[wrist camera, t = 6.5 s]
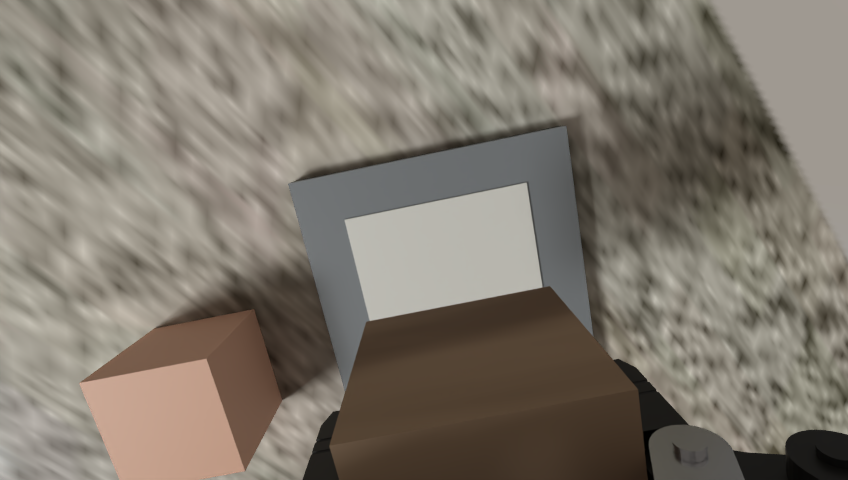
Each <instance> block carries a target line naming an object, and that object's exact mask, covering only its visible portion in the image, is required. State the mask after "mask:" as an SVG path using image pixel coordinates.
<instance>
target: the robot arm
mask: <svg viewBox="0 0 848 480" xmlns="http://www.w3.org/2000/svg"><path fill="white" fill-rule="evenodd" d="M614 362H615V363H616V364H617V365H618V366H619V368H620V369H621V370H622V371H623V372H624V373H625V375H626V376H627V377H628V378H629V379H630V380H631V382H632V383H633V384H634V385H635V386H636V387H637V389H638V393H639V403H640V412H641V421H642V430H643V440H644V449H645V458H646V467H647V477H648V480H848V435H846V434H843V433H838V432H833V431H826V430H807V431H801V432H798V433H795V434H793V435H791V436H790V437H789V438H788V439H787V441H786V446H785V451H786V455H779V454H762V453H747V452H739V451H734V450H732V448H731V446H730V445H729V444H728V443H727V442H726V441H725V440H724V439H723V438H722V437H720V436H719V435H717V434H715V433H713V432H711V431H709V430H706V429H704V428H700V427H696V426H691V425H688V424H687V422H686V421H685V420H684V419H683V418H682V417H681V416H680V415H679V414H678V413H677V412H676V411H675V409H674V408H673V407H672V406H671V405H670V404H669V403H668V402H667V401H666V400H665V399H664V398H663V396H662V395H661V394H660V393H659V392H657V391H656V389H655V388H654V387H653V386H652V385H651V383H650V382H647V379H646V378H645V377H644V376H643V375H642V374H641V373H640V372H639V370H638V369H637V368H636V367H634V366H632V365H630V364H628V363H626V362H623V361H621V360H619V359H616V360H614ZM339 412H340V411H335V412H333V413H332V414H331V415H330V416H329V417H328V418H327V420H326V421H325V422H324V423H323V424H322V425H321V428H320V431H319V434H318V437H317V440H316V441H317V443H315V445H314V448H313V451H312V455H311V457H310V460H309V463H308V466H307V468H306V471H305V474H304V477H303V480H339V478H338V474H337V471H336V467H335V464H334V460H333V457H332V453H331V450H330V447H329V445H330V442H331V439H332V435H333V432H334V428H335V425H336V422H337V418H338V415H339Z"/></svg>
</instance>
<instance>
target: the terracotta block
mask: <svg viewBox="0 0 848 480" xmlns="http://www.w3.org/2000/svg"><path fill="white" fill-rule="evenodd" d="M79 384H80V386H81V389H82V391H83V393H84V396H85V398H86V400H87V403H88V405H89V408H90V410H91V412H92V415H93V417H94V420H95V422H96V424H97V427H98V429H99V431H100V434H101V436H102V439H103V441H104V443H105V446H106V448H107V451H108V453H109V455H110V458H111V460H112V462H113V465H114V467H115V470H116V472H117V474H118V477H119V479H120V480H199V479H205V478H210V477H216V476H221V475H227V474H232V473H238V472H243V471H245V470H246V468H247V466H248V464H249V463H250V461H251V459H252V457H253V455H254V453H255V451H256V449H257V447H258V445H259V444H260V442H261V440H262V438H263V436H264V434H265V432H266V430H267V428H268V426H269V424H270V423H271V421H272V419H273V417H274V415H275V413H276V411H277V409H278V407H279V405H280V404H281V402H282V398H281V395H280V391H279V388H278V385H277V382H276V378H275V375H274V372H273V369H272V366H271V362H270V359H269V356H268V353H267V349H266V346H265V343H264V340H263V336H262V333H261V330H260V327H259V324H258V320H257V317H256V314H255V311H254V309H252V310H247V311H242V312H237V313H231V314H226V315H221V316H216V317H211V318H206V319H201V320H196V321H191V322H186V323H181V324H175V325H170V326H165V327H160V328H155V329H153V330H152V331H150V332H149V333H148V334H146V335H145V336H143V337H142V338H141V339H139V340H138V341H137V342H135V343H134V344H132V345H131V346H130V347H128V348H127V349H126V350H124V351H123V352H121V353H120V354H119V355H117V356H116V357H115V358H113V359H112V360H110V361H109V362H108V363H106V364H105V365H103V366H102V367H101V368H99V369H98V370H97V371H95V372H94V373H92V374H91V375H90V376H88V377H87V378H86V379H84V380H83V381H81V382H80V383H79Z"/></svg>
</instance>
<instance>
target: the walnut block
mask: <svg viewBox="0 0 848 480" xmlns="http://www.w3.org/2000/svg"><path fill="white" fill-rule="evenodd" d="M329 447H330V450H331V453H332V457H333V460H334V464H335V467H336V471H337V474H338V478H339V480H648V477H647V467H646V458H645V449H644V440H643V430H642V421H641V412H640V403H639V393H638V389H637V387H636V386H635V385H634V384H633V383H632V382H631V380H630V379H629V378H628V377H627V376H626V375H625V373H624V372H623V371H622V370H621V369H620V368H619V366H618V365H617V364H616V363H615V362H614V360H613V359H612V358H611V357H610V356H609V355H608V353H607V352H606V351H605V350H604V349H603V348H602V346H601V345H600V344H599V343H598V342H597V341H596V339H595V338H594V337H593V336H592V335H591V333H590V332H589V331H588V330H587V329H586V328H585V326H584V325H583V324H582V323H581V322H580V321H579V319H578V318H577V317H576V316H575V315H574V314H573V312H572V311H571V310H570V309H569V308H568V306H567V305H566V304H565V303H564V302H563V301H562V299H561V298H560V297H559V296H558V295H557V294H556V292H555V291H554V290H553V289H552V288H551V287H550V286H548V287H542V288H537V289H532V290H527V291H522V292H517V293H512V294H506V295H501V296H496V297H491V298H486V299H481V300H475V301H470V302H465V303H460V304H455V305H450V306H445V307H439V308H434V309H429V310H424V311H419V312H414V313H408V314H403V315H398V316H393V317H388V318H383V319H378V320H372V321H367V322H366V324H365V327H364V331H363V334H362V338H361V341H360V344H359V348H358V351H357V354H356V358H355V361H354V364H353V368H352V371H351V375H350V378H349V381H348V385H347V388H346V391H345V395H344V398H343V401H342V405H341V408H340V412H339V415H338V418H337V422H336V425H335V428H334V432H333V435H332V439H331V442H330V445H329Z"/></svg>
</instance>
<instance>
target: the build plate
mask: <svg viewBox="0 0 848 480" xmlns="http://www.w3.org/2000/svg"><path fill="white" fill-rule="evenodd" d="M288 185H289V189H290V192H291V196H292V200H293V203H294V207H295V211H296V214H297V218H298V222H299V225H300V229H301V233H302V236H303V240H304V244H305V247H306V251H307V254H308V258H309V262H310V265H311V269H312V273H313V276H314V280H315V284H316V287H317V291H318V295H319V298H320V302H321V306H322V309H323V313H324V317H325V320H326V324H327V328H328V331H329V335H330V339H331V342H332V346H333V349H334V353H335V357H336V360H337V364H338V368H339V371H340V375H341V379H342V382H343V386H344V390H345V391H346V388H347V385H348V381H349V378H350V375H351V371H352V368H353V364H354V361H355V358H356V354H357V351H358V348H359V344H360V341H361V338H362V334H363V331H364V327H365V324H366V322H367V321H372V320H378V319H383V318H388V317H393V316H398V315H403V314H408V313H414V312H419V311H424V310H429V309H434V308H439V307H445V306H450V305H455V304H460V303H465V302H470V301H475V300H481V299H486V298H491V297H496V296H501V295H506V294H512V293H517V292H522V291H527V290H532V289H537V288H542V287H548V286H550V287H551V288H552V289H553V290H554V291H555V292H556V294H557V295H558V296H559V297H560V298H561V299H562V301H563V302H564V303H565V304H566V305H567V306H568V308H569V309H570V310H571V311H572V312H573V314H574V315H575V316H576V317H577V318H578V319H579V321H580V322H581V323H582V324H583V325H584V326H585V328H586V329H587V330H588V331H589V332H590V333H591V335H592V336H593V330H592V322H591V315H590V307H589V299H588V291H587V283H586V276H585V268H584V260H583V252H582V244H581V237H580V229H579V221H578V213H577V205H576V197H575V190H574V182H573V174H572V166H571V158H570V151H569V143H568V135H567V127H566V126H558V127H553V128H548V129H544V130H539V131H534V132H529V133H524V134H520V135H515V136H510V137H505V138H500V139H496V140H491V141H486V142H481V143H476V144H472V145H467V146H462V147H457V148H452V149H448V150H443V151H438V152H433V153H428V154H424V155H419V156H414V157H409V158H405V159H400V160H395V161H390V162H385V163H381V164H376V165H371V166H366V167H361V168H357V169H352V170H347V171H342V172H337V173H333V174H328V175H323V176H318V177H313V178H309V179H304V180H299V181H294V182H291V183H289V184H288Z"/></svg>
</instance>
